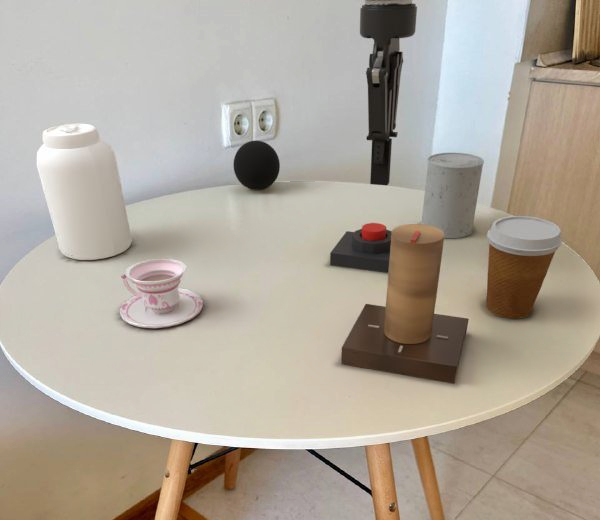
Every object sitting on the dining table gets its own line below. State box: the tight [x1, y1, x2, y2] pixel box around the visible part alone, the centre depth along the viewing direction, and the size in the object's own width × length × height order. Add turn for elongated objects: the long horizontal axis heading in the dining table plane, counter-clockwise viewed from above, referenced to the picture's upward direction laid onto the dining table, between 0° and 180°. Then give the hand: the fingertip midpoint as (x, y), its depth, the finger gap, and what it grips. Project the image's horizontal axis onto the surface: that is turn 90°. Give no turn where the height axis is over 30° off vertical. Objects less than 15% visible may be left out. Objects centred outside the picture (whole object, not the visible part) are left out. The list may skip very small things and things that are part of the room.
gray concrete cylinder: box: [420, 152, 485, 239], centre depth 106 cm, size 10×10×12 cm
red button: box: [361, 222, 387, 241], centre depth 97 cm, size 4×4×2 cm
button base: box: [329, 228, 392, 274], centre depth 99 cm, size 12×10×4 cm
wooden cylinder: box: [384, 223, 445, 344], centre depth 71 cm, size 6×6×13 cm
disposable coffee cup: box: [485, 215, 563, 320], centre depth 81 cm, size 10×10×12 cm
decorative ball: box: [232, 140, 281, 191], centre depth 128 cm, size 10×10×10 cm
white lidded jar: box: [36, 123, 133, 261], centre depth 100 cm, size 12×12×20 cm
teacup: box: [119, 258, 204, 329], centre depth 85 cm, size 12×12×6 cm
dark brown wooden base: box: [340, 303, 470, 384], centre depth 76 cm, size 14×12×3 cm
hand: (379, 183), depth 93 cm, fingers closed
